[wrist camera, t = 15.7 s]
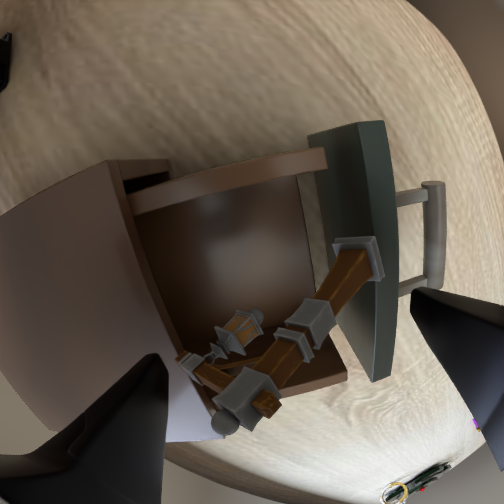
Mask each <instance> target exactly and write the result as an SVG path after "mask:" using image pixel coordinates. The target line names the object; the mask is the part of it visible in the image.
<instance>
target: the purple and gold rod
mask: <svg viewBox="0 0 504 504" xmlns="http://www.w3.org/2000/svg"><path fill="white" fill-rule="evenodd" d="M474 423H475V425H476V427H477V431H478V432H480V431H481V429H480V428H479V426H478V424H477V422H476V421H475V419H474Z"/></svg>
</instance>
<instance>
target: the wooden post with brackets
mask: <svg viewBox="0 0 504 504" xmlns="http://www.w3.org/2000/svg"><path fill="white" fill-rule="evenodd" d="M332 246H333V248H334V251H335V254H336V257H337V258H336V260H335V263H334V264H333V266H332V268H331V270H330V271H329V273H328V275H327V277H326V278H325V280H324V282H323V283H322V285H321V287H320V288H319V290H318V291H317V292H316V293H315V295H314V296H313V297H312V298H311V299H308V298H305V299H304V301H303V303H302V305H301V306H300V307H299V308H298V309H297V310H296V312H295V313H294V314H293V315H292V316H291V317H290V318H288V319H287V320H285V321H284V322H285V324H286V326H287V327H286V329H284V328H279V327H278V330H277V331H276V332H275V333H274V336H275V338H276V341H275V342H274V343H273V344H272V345H271V347H270V348H269V349H268V350H267V351H266V353H265V354H264V355H263V356H262V357H258V358H253V359H249V360H245V361H240V362H235V363H231V364H226V365H221V366H219V365H213V363H214V361H215V359H216V358H218V357H221V358H225V359H228V358H227V356H226V354H225V353H224V352H227V353H229V354H230V351H234V352H237V353H240V354H242V355H244V356H245V355H246V352H245V351H244V347H245V346H246V345H247V344H248V343H250V342H251V341H252V340H253V339H254V338H255V337H257V336H258V335H261V334H262V335H263V334H264V333H263V331H262V329H261V327H260V326H259V324H261V323H262V321H263V319H264V315H263V313H262V311H261V310H259V309H257V308H256V309H251V310H249V311H248V313H247V312H243V311H240V310H236V314H235V316H234V317H233V318H232V319H231V320H230V321H229V322H228V323H227V324H226V325H225V326H224V327H223V328H220V327H218V326H215V327H214V328H215V330H216V332H217V335H218V337H219V341H216V342H217V344H218V346H217V345H215V344H213V343H210V344H211V348H212V351H211V352H210V353H209V354H206V355H204V356H203V357H200V356H198V355H196V354H195V353H194V354H193V355H192V354H191V353H188V352H186V351H185V350H184V351H183V352H182V353H181V354H180V355H179V356H177V357H176V358H175V359H174V360H175V361H176V363H177V364H178V365H179V366H180V368H181V369H182V370H183V371H184V372H186V373H187V374H188V375H189V376H190V377H191V378H192V379H193V380H194V381H196V382H197V383H199V384H200V385H202V386H203V385H204V384H205V385H206V386H208V387H210V388H211V389H213V390H214V391H216V392H218V393H219V395H217V396H215V397H214V398H212V400H213V401H214V402H215V403H216V404H217V405H218V407H219V408H220V409H221V410H220V411H217V412H216V413H215V414H214V415H213V416H212V419H211V427H212V429H213V430H214V431H215V432H216V433H217V434H219V435H224V436H227V435H231V434H233V433H235V432H236V431H237V429H238V428H239V425H241V426H243V427H244V428H246V429H248V430H249V431H251V432H252V431H253V429H254V428H255V426H256V424H257V423H258V422H259V421H260V420H261V418H262V417H263V416H264V417H266V418H268V419H270V418H271V417H272V415H273V414H274V413H275V412H276V411H277V410H278V409H279V408H280V407H281V406H282V404H281V403H280V401H279V399H281V398H282V395H281V394H280V392H279V390H280V389H281V387H282V386H283V385H284V384H285V383H286V381H287V380H288V379H289V378H290V377H291V375H292V374H293V373H294V372H295V370H296V369H297V368H298V367H299V365H300V364H301V363H302V362H303V361H304V362H307V363H309V362H310V359H312V358H313V357H314V354H313V352H312V349H313V348H314V349H318V350H319V349H320V347H321V344H322V342H323V340H324V339H325V338H326V336H327V335H328V333H329V332H330V330H331V329H332V328H333V327H334V326H335V325H336V324H337V323H336V320H335V317H336V316H337V314H338V313H339V312H340V310H341V309H342V308H343V306H344V305H345V304H346V303H347V302H348V301H349V300H350V299H351V298H352V297H353V295H354V294H355V293H356V292H357V291H358V290H359V289H360V288H361V287H362V285H363V284H364V283H366V282H367V281H379V282H381V279H382V278H383V277H385V274H384V269H383V265H382V261H381V257H380V253H379V249H378V245H377V241H376V238H375V236H366V237H348V238H335V242H334V243H333V244H332ZM213 353H214V354H215V355H216V356H214V355H212V354H213ZM207 356H209V358H210V359H212V362H211V364H208V362H207V361H206V360H205V358H206V357H207ZM235 375H238V376H237V377H236V378H234V377H232V376H235Z"/></svg>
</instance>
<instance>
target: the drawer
mask: <svg viewBox="0 0 504 504" xmlns="http://www.w3.org/2000/svg"><path fill="white" fill-rule="evenodd" d="M307 140H308V144H309V148H307V149H300V150H293V151H286V152H281V153H276V154H271V155H266V156H261V157H257V158H252V159H248V160H243V161H239V162H235V163H231V164H227V165H223V166H219V167H215V168H211V169H207V170H203V171H200V172H196V173H192V174H189V175H185V176H182V177H178V178H175V179H172V180H168V181H165V182H162V183H159V184H156V185H152V186H149V187H146V188H143V189H140V190H137V191H134V192H131V193H129V194H126V196H127V200H128V203H129V207H130V210H131V213H132V217H133V220H134V223H135V226H136V229H137V232H138V235H139V238H140V241H141V244H142V247H143V250H144V253H145V256H146V259H147V261H148V264H149V267H150V270H151V272H152V275H153V278H154V280H155V283H156V285H157V288H158V291H159V293H160V296H161V298H162V300H163V303H164V305H165V308H166V310H167V312H168V315H169V317H170V320H171V322H172V324H173V326H174V329H175V331H176V333H177V335H178V338H179V340H180V342H181V344H182V346H183V348H184V350H185V351H186V352H188V353H191V354H192V355H193V354H194V353H195V354H196V355H198V356H200V357H203V356H204V355H206V354H209V353H210V352H211V351H212V348H211V344H210V343H213V344H215V345H217V346H218V344H217V342H216V341H219V337H218V335H217V332H216V330H215V328H214V327H215V326H218V327H220V328H223V327H224V326H225V325H226V324H227V323H228V322H229V321H230V320H231V319H232V318H233V317H234V316H235V314H236V310H240V311H243V312H247V313H248V311H249V310H251V309H256V308H257V309H259V310H261V311H262V313H263V315H264V319H263V321H262V323H261V324H259V326H260V327H261V329H262V331H263V333H264V334H263V335H262V334H261V335H258V336H257V337H255V338H254V339H253V340H252V341H251V342H250V343H248V344H247V345H246V346H245V347H244V351H245V352H246V355H245V356H244V355H242V354H240V353H237V352H234V351H230V354H229V353H227V352H224V353H225V354H226V356H227V358H228V359H225V358H221V357H218V358H216V359H215V361H214V363H213V365H219V366H221V365H226V364H231V363H235V362H240V361H245V360H249V359H253V358H258V357H262V356H263V355H264V354H265V353H266V351H267V350H268V349H269V348H270V347H271V345H272V344H273V343H274V342H275V341H276V338H275V336H274V333H275V332H276V331H277V330H278V327H279V328H284V329H286V327H287V326H286V324H285V322H284V321H285V320H287V319H288V318H290V317H291V316H292V315H293V314H294V313H295V312H296V310H297V309H298V308H299V307H300V306H301V305H302V303H303V301H304V299H305V298H308V299H311V298H312V297H313V296H314V295H315V293H316V289H315V282H314V275H313V268H312V261H311V255H310V249H309V242H308V236H307V231H306V225H305V219H304V214H303V208H302V203H301V198H300V192H299V187H298V182H297V177H296V175H299V174H304V173H309V172H314V174H315V179H316V184H317V190H318V195H319V201H320V207H321V213H322V219H323V226H324V232H325V239H326V247H327V254H328V262H329V270H331V268H332V266H333V264H334V263H335V260H336V258H337V257H336V254H335V251H334V248H333V246H332V244H333V243H334V242H335V238H348V237H366V236H375V238H376V241H377V245H378V249H379V253H380V257H381V261H382V265H383V269H384V274H385V277H383V278H382V279H381V282H379V281H367V282H366V283H364V284H363V285H362V287H361V288H360V289H359V290H358V291H357V292H356V293H355V294H354V295H353V297H352V298H351V299H350V300H349V301H348V302H347V303H346V304H345V305H344V306H343V308H342V309H341V310H340V312H339V313H338V314H337V316H336V317H335V320H336V321H337V323H338V325H339V327H340V328H341V330H342V332H343V333H344V335H345V337H346V338H347V340H348V342H349V344H350V345H351V347H352V349H353V351H354V352H355V354H356V356H357V358H358V359H359V361H360V363H361V365H362V366H363V368H364V370H365V372H366V373H367V375H368V377H369V379H370V381H371V382H372V383H373V382H376V381H378V380H381V379H383V378H386V377H388V376H390V375H391V369H392V362H393V354H394V346H395V337H396V326H397V313H398V298H399V297H401V296H404V295H407V294H410V293H411V292H412V290H413V289H415V288H417V287H420V286H424V287H428V288H432V289H436V290H439V289H441V288H442V287H443V283H444V273H445V260H446V236H447V211H446V188H445V183H444V182H441V181H425V182H422V183H421V188H417V189H411V190H406V191H401V192H396V193H395V185H394V177H393V169H392V162H391V156H390V150H389V144H388V138H387V133H386V128H385V123H384V121H383V120H376V121H363V122H355V123H351V124H347V125H344V126H340V127H336V128H332V129H329V130H325V131H322V132H318V133H315V134H311V135H308V136H307ZM419 202H423V224H424V257H423V275H419V276H417V277H414V278H411V279H408V280H405V281H402V282H400V283H399V238H398V219H397V207H401V206H405V205H410V204H414V203H419ZM312 352H313V354H314V357H313V358H312V359H310V362H309V363H307V362H304V361H303V362H302V363H301V364H300V365H299V367H298V368H297V369H296V370H295V372H294V373H293V374H292V375H291V377H290V378H289V379H288V380H287V381H286V383H285V384H284V385H283V386H282V387H281V389H280V390H279V392H280V394H281V395H282V398H286V397H290V396H294V395H298V394H302V393H306V392H310V391H314V390H317V389H321V388H324V387H328V386H331V385H334V384H338V383H341V382H344V381H347V369H346V367H345V365H344V363H343V361H342V359H341V357H340V355H339V353H338V351H337V349H336V347H335V345H334V343H333V341H332V339H331V337H330V335H329V333H328V335H327V336H326V338H325V339H324V340H323V342H322V344H321V347H320V349H319V350H318V349H314V348H313V349H312ZM212 355H214V356H216V355H215V354H214V353H213V354H212ZM205 360H206V361H207V362H208V364H211V362H212V359H210V358H209V356H207V357H206V358H205ZM237 376H238V375H235V376H232V377H234V378H236V377H237ZM202 387H203V388H204V390H205V392H206V394H207V396H208V398H209V400H210V401H211V403H212V405H213V407H214V409H215V410H220V408H219V407H218V405H217V404H216V403H215V402H214V401H213V400H212V398H214V397H215V396H217V395H219V393H218V392H216V391H214V390H213V389H211V388H210V387H208V386H206V385H205V384H204V385H203V386H202Z"/></svg>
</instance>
